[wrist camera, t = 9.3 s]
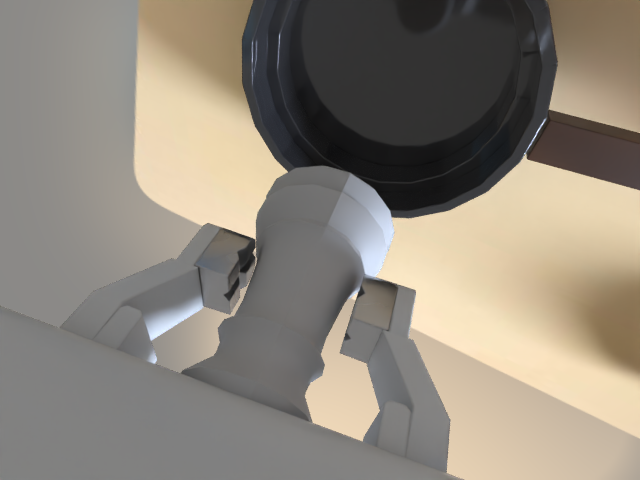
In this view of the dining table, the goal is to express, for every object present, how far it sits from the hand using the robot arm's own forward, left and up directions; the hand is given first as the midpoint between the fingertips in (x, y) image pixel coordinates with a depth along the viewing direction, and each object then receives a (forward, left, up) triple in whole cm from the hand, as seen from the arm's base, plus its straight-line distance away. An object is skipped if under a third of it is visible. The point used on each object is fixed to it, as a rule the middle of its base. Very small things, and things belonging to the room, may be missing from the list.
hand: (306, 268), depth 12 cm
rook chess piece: (0, 0, -3) cm, 3 cm away
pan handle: (0, +13, -13) cm, 18 cm away
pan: (0, 0, -17) cm, 16 cm away
